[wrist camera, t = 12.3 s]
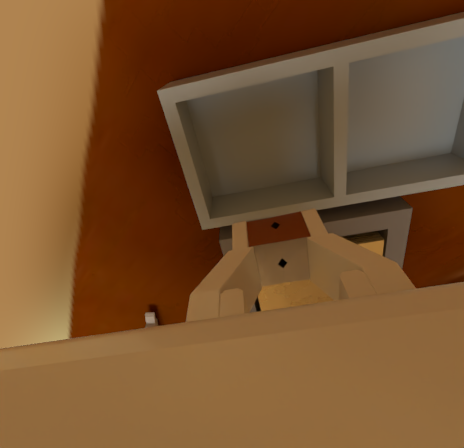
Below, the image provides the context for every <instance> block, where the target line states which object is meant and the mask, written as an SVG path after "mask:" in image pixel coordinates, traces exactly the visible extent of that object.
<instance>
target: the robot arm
mask: <svg viewBox="0 0 464 448" xmlns="http://www.w3.org/2000/svg"><path fill="white" fill-rule="evenodd" d="M309 279H310V281H311V282H313V283H314V284H315V285H316V286H317V287H319V288H320V289H321V290H322V291H323V292H325V293H326V294H327V295H328V296H329V297H331V298H332V299H333V300H334V301H327V302H321V303H314V304H307V305H300V306H293V307H286V308H280V309H273V310H266V311H259V312H252V313H249V312H250V310H251V308H252V307H253V305H254V303H255V301H256V299H257V297H258V295H259V293H260V291H261V289H262V287H264V286H269V285H274V284H280V283H285V282H293V281H301V280H309ZM0 448H464V282H459V283H452V284H445V285H438V286H432V287H425V288H418V289H416V288H415V286H414V285H413V284H412V282H411V281H410V280H409V278H408V277H407V276H406V274H405V273H404V272H403V270H402V269H401V268H400V266H399V265H398V264H397V263H396V262H394V261H392V260H390V259H388V258H386V257H383V256H381V255H379V254H377V253H375V252H373V251H370V250H368V249H366V248H364V247H362V246H360V245H357V244H355V243H353V242H351V241H349V240H347V239H344V238H342V237H340V236H338V235H336V234H334V233H330V234H328V232H327V230H326V228H325V226H324V224H323V222H322V220H321V218H320V216H319V214H318V213H317V211H316V209H314V208H313V209H308V210H303V211H299V212H295V213H290V214H285V215H280V216H275V217H267V218H261V219H254V220H248V221H242V222H237V223H233V224H232V250H231V251H228V252H227V253H226V254H225V256H224V257H223V258H222V259H221V260H220V261H219V262H218V264H217V265H216V266H215V267H214V268H213V269H212V270H211V271H210V273H209V274H208V275H207V276H206V277H205V278H204V279H203V281H202V282H201V283H200V284H199V285H198V286H197V287H196V288H195V290H194V291H193V292H192V293H191V294H190V299H189V305H188V312H187V318H186V322H183V323H176V324H169V325H162V326H155V327H148V328H141V329H134V330H127V331H120V332H113V333H107V334H100V335H93V336H86V337H79V338H72V339H65V340H58V341H51V342H44V343H37V344H30V345H23V346H16V347H10V348H3V349H0Z"/></svg>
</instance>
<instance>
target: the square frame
mask: <svg viewBox="0 0 464 448" xmlns="http://www.w3.org/2000/svg"><path fill="white" fill-rule="evenodd" d="M412 210H413V208H412V207H411V206H410V205H409V204H408V203H407V202H406V201H405V200H403V199H402V198H401V197H400V196H396V197H390V198H385V199H379V200H373V201H367V202H362V203H356V204H350V205H344V206H338V207H333V208H327V209H321V210H316V211H317V213H318V214H319V216H320V218H321V220H322V222H323V224H324V226H325V228H326V230H327V232H328V234H330V233H334V234H336V235H338V236H340V237H341V236H347V235H354V234H360V233H366V232H372V231H378V232H379V234H380V235H381V236H382V238H383V239H384V247H383V255H382V256H383V257H386V258H388V259H390V260H392V261H394V262H396V263H397V264H398V265H399V266H400V268H401V269H402V267H403V261H404V255H405V250H406V244H407V238H408V232H409V227H410V221H411V215H412ZM219 242H220V245H221V249H222V252H223V256H225V254H226V253H227V252H228V251H231V250H232V225H228V226H223V227H220V234H219ZM259 311H261V308H260V304H259V301H258V297H257V299H256V301H255V303H254V305H253V307H252V308H251V310H250V312H249V313H252V312H259Z"/></svg>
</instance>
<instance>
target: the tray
mask: <svg viewBox="0 0 464 448" xmlns="http://www.w3.org/2000/svg"><path fill="white" fill-rule="evenodd" d="M157 93H158V96H159V99H160V102H161V105H162V108H163V111H164V114H165V117H166V120H167V123H168V126H169V130H170V133H171V136H172V139H173V142H174V145H175V148H176V151H177V154H178V157H179V160H180V163H181V166H182V169H183V173H184V176H185V179H186V182H187V185H188V188H189V191H190V194H191V197H192V200H193V203H194V206H195V209H196V212H197V215H198V219H199V222H200V225H201V228H202V230H205V229H211V228H217V227H223V226H228V225H232V224H233V223H237V222H242V221H248V220H254V219H261V218H267V217H275V216H280V215H285V214H290V213H295V212H299V211H303V210H308V209H313V208H314V209H316V210H321V209H327V208H333V207H338V206H344V205H350V204H356V203H362V202H367V201H373V200H379V199H385V198H390V197H396V196H402V195H408V194H414V193H419V192H425V191H431V190H437V189H443V188H448V187H454V186H460V185H464V12H460V13H456V14H452V15H448V16H444V17H440V18H435V19H431V20H427V21H423V22H419V23H414V24H410V25H406V26H402V27H398V28H394V29H389V30H385V31H381V32H377V33H373V34H368V35H364V36H360V37H356V38H352V39H348V40H343V41H339V42H335V43H331V44H327V45H322V46H318V47H314V48H310V49H306V50H302V51H297V52H293V53H289V54H285V55H281V56H276V57H272V58H268V59H264V60H260V61H256V62H251V63H247V64H243V65H239V66H235V67H230V68H226V69H222V70H218V71H214V72H210V73H205V74H201V75H197V76H193V77H189V78H184V79H180V80H176V81H172V82H169V83H168V84H166V85H165V86H163V87H162V88H160V89H159V90H157Z"/></svg>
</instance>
